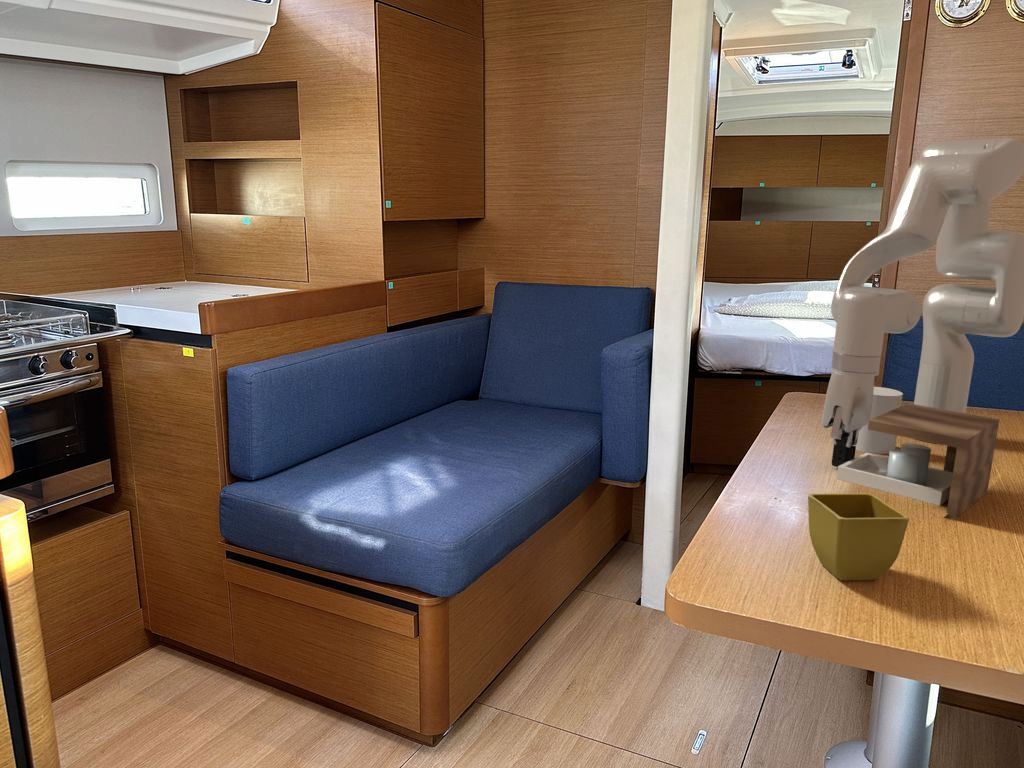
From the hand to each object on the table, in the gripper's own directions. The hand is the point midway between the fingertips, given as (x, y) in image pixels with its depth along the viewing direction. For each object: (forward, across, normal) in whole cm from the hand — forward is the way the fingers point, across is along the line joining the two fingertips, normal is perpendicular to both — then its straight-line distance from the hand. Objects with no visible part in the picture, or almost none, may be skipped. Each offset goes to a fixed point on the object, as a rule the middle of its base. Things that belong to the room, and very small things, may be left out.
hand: (842, 466), depth 134 cm
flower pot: (+2, +39, +17) cm, 42 cm away
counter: (+1, 0, +13) cm, 13 cm away
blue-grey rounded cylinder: (0, +3, +11) cm, 11 cm away
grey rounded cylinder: (0, -3, +11) cm, 11 cm away
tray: (+1, 0, +10) cm, 10 cm away
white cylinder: (+1, -18, -2) cm, 18 cm away
